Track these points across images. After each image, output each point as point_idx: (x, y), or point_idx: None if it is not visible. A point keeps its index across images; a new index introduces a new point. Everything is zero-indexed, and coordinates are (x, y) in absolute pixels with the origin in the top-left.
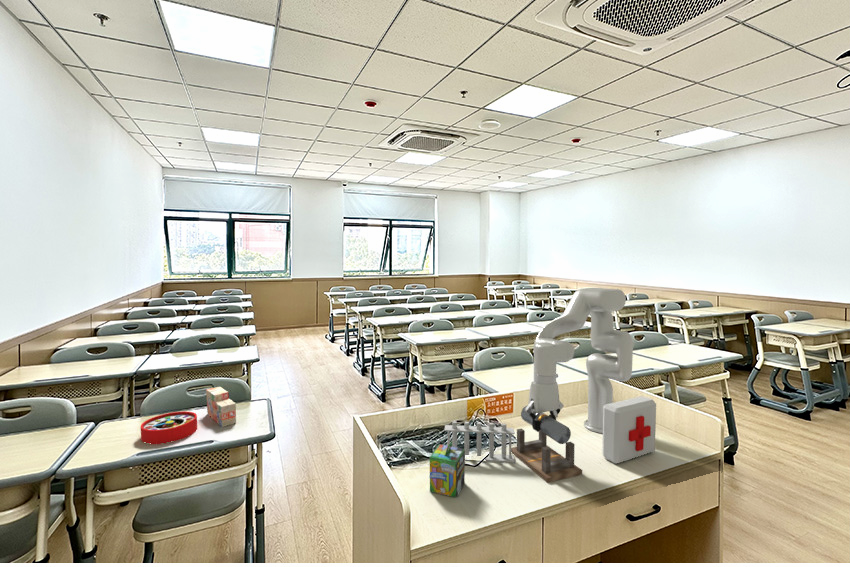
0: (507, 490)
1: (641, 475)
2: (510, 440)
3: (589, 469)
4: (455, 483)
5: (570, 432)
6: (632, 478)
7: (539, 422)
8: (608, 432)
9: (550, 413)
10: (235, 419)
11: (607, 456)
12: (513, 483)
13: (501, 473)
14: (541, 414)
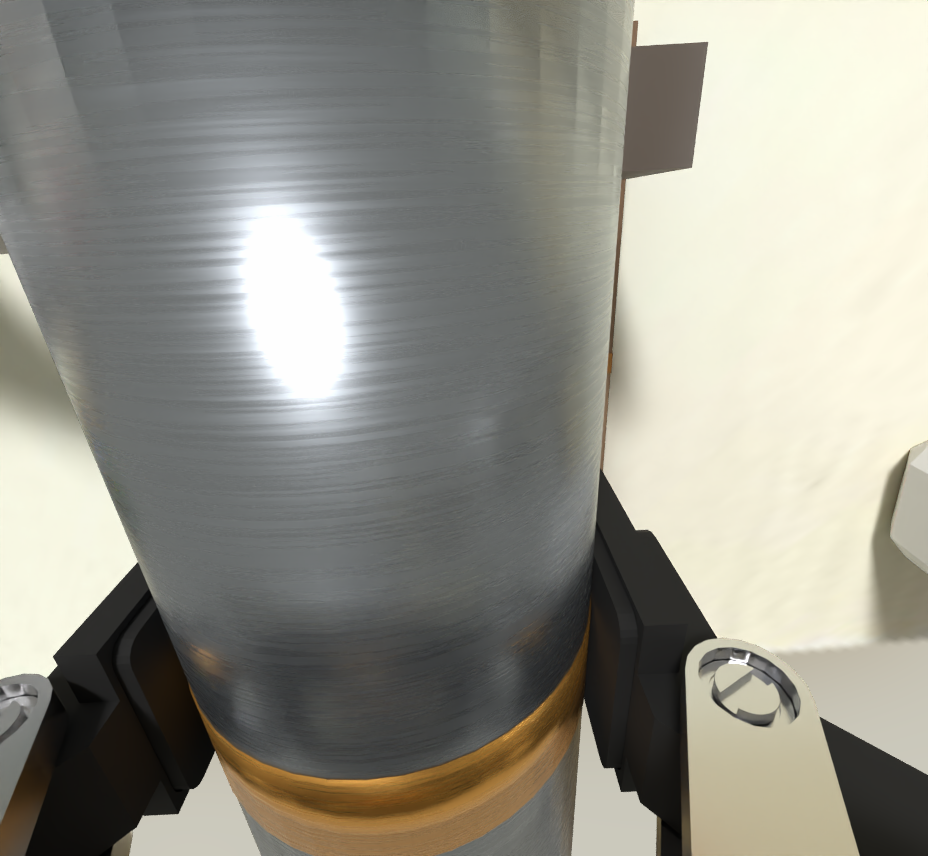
0: (57, 566)
1: (883, 639)
2: (6, 252)
3: (677, 523)
4: None
5: None
6: (809, 646)
7: (205, 758)
8: None
9: (680, 719)
10: None
11: (913, 501)
12: (110, 520)
13: (46, 400)
14: (307, 771)
